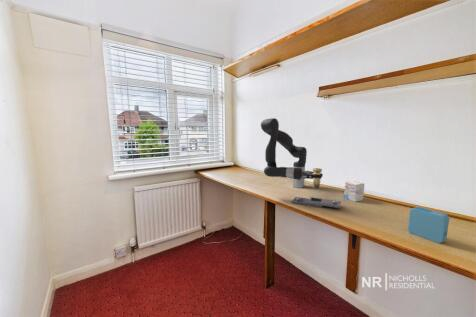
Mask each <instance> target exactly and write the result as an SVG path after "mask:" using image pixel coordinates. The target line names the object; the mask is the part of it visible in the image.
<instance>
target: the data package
mask: <svg viewBox="0 0 476 317" xmlns="http://www.w3.org/2000/svg"><path fill="white" fill-rule="evenodd" d="M449 223H450V216H449V214H446V213H444V212H440V211H437V210H433V209H428V208H424V207H420V206H415V207H413V208H411V209H410V210H409V216H408V225H407V226H408V227H407V231H408V233H410V234H412V235H415V236H417V237H420V238H423V239H426V240H428V241H430V242H431V241H432V242H434V243H436V244H442V243H443V242H445V241H446V240H447V235H448V229H449Z"/></svg>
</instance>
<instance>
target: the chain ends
mask: <svg viewBox="0 0 476 317" xmlns="http://www.w3.org/2000/svg"><path fill="white" fill-rule="evenodd" d="M291 202H292V203H293V204H297V205H303V206H308V205H309V207H315V208H323V207H329V208H336V209H341V207H342V206H341V204H342V201H341V200H337V199H326V198H321V197H314V196H310V198H308V197H307V198H306V197H300V196H295V197H294V198H293V199H292V201H291Z"/></svg>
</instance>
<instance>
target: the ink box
mask: <svg viewBox="0 0 476 317" xmlns="http://www.w3.org/2000/svg"><path fill="white" fill-rule="evenodd" d="M344 183H345V184H344V196H343V199H346V200H349V201H351V202H359V201H363V200H364V194H365V192H364V191H365V183H364V182H363V181H362V180H358V179H355V178H351V179H350V180H349V181H345V182H344Z"/></svg>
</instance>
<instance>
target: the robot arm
mask: <svg viewBox="0 0 476 317" xmlns="http://www.w3.org/2000/svg"><path fill="white" fill-rule="evenodd" d="M260 129H261V130H262V132H264V133H265V134H267V135H268V136H270V138H269V141H268V143H267V145H266V148H265V153H264V154H265V155H264V156H265V157H264V158H265V162H266V163H267V164H266V165H267V166H266V167H265V168H264V170H263V173H264V174H265V176H267V177H272V178H274V177H275V178H278V177H279V178H287V179H292V187H294V188H296V189H302V188H304V187H305V181H306V180H305V179H311V180H314V178H319V179H320V180H321V179H322V178H323V172H321V175H317V174H314V171H313V170H312V171H311V170H306V164H307V153H308V151H307V148H306V147H305V146H296V145H295V144H294V139H293V138H292V137H291V135H289V134H288V133H287V132H285V131H283V130H281V129H280V124H279V120H278V119H277V118H275V117H273V118H266V119H263V120H262V121H261V122H260ZM277 143H278V144H279V145H280V146H282V147H283V148H284V149H285V150H286V151H288V153H289V154H290V156H292V157H293V158H294V159H295V158H296V159H297V158H298V160H297V161H294V162H293V166H292V167H287V166H280V167H278V166H277V161H276V160H277V159H276V158H277V156H276V154H277V153H276V152H277V151H276V150H277Z"/></svg>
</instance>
